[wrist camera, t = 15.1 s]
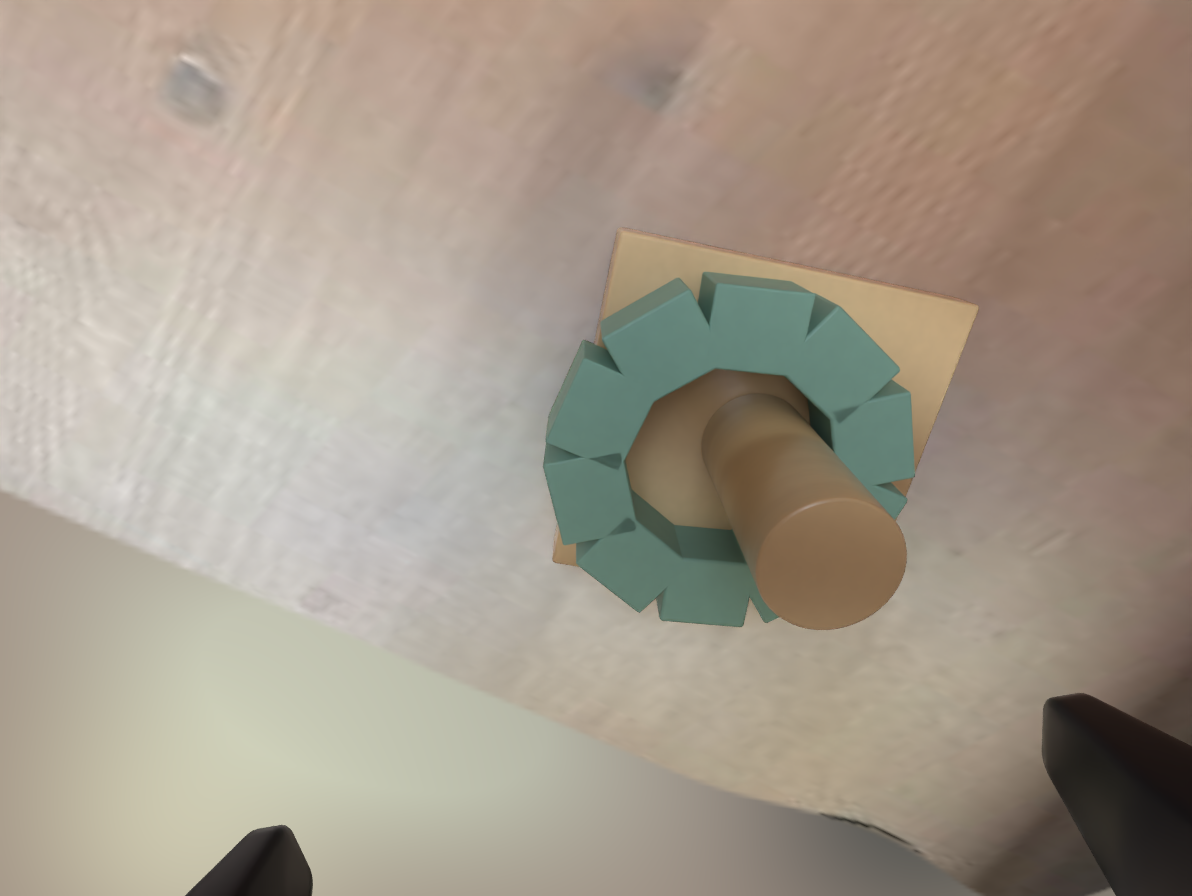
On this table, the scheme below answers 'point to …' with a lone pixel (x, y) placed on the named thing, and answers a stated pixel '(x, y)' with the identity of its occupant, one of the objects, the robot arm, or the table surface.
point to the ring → (668, 362)
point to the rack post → (783, 437)
